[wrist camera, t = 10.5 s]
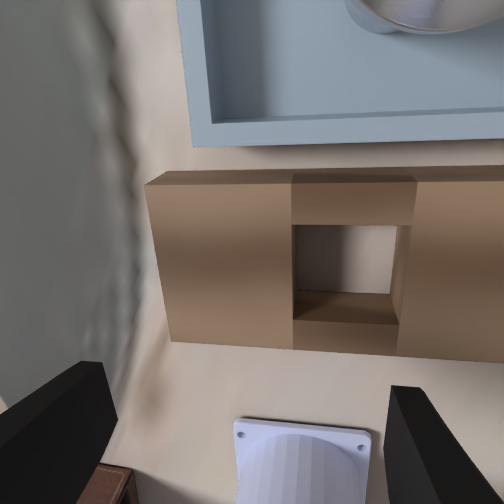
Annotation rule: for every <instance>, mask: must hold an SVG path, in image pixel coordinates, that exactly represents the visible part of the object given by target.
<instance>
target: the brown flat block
mask: <svg viewBox="0 0 504 504" xmlns="http://www.w3.org/2000/svg"><path fill="white" fill-rule="evenodd" d="M144 189H145V195H146V200H147V206H148V212H149V218H150V223H151V229H152V235H153V240H154V246H155V252H156V257H157V263H158V269H159V275H160V280H161V286H162V292H163V297H164V303H165V309H166V314H167V320H168V326H169V332H170V337H171V342H186V343H201V344H217V345H232V346H247V347H262V348H278V349H293V350H308V351H323V352H338V353H354V354H369V355H384V356H399V357H415V358H430V359H445V360H460V361H475V362H491V363H504V165H485V166H430V167H375V168H320V169H265V170H210V171H167V172H165V173H164V174H162V175H160V176H159V177H157V178H155V179H154V180H152V181H150V182H149V183H147V184H145V185H144ZM296 225H397V234H396V243H395V252H394V261H393V270H392V278H391V287H390V294H369V293H343V292H317V291H296Z"/></svg>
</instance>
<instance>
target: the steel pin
mask: <svg viewBox="0 0 504 504" xmlns="http://www.w3.org/2000/svg"><path fill="white" fill-rule="evenodd" d="M344 2H345V5H346V8H347V11H348V13H349V15H350V16H351V18H352V19H353V20H354V22H355V23H356V24H357V25H359V26H360V27H361V28H363V29H365V30H367V31H369V32H372V33H377V34H387V33H393V32H396V31H399V30H401V31H404V32H409V33H416V34H445V33H452V32H458V31H462V30H465V29H469V28H472V27H476V26H479V25H482V24H485V23H488V22H490V21H493V20H496V19H498V18H501V17H503V16H504V0H344Z"/></svg>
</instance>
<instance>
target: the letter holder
mask: <svg viewBox="0 0 504 504" xmlns="http://www.w3.org/2000/svg"><path fill="white" fill-rule="evenodd" d="M76 504H138V499H137V491H136V485H135V480H134V475H133V471H132V469H130V468H122V467H117V466H111V465H106V464H101V463H99V464H98V466H97V468H96V469H95V471H94V473H93V475H92V476H91V478H90V480H89V482H88V484H87V485H86V487H85V489H84V491H83V492H82V494H81V496H80V497H79V499H78V501H77V503H76Z"/></svg>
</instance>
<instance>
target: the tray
mask: <svg viewBox="0 0 504 504" xmlns="http://www.w3.org/2000/svg"><path fill="white" fill-rule="evenodd" d="M176 6H177V15H178V23H179V32H180V41H181V49H182V58H183V66H184V75H185V84H186V92H187V101H188V109H189V118H190V127H191V135H192V144H193V147H225V146H259V145H293V144H326V143H360V142H394V141H428V140H462V139H495V138H504V16H503V17H501V18H498V19H496V20H493V21H490V22H488V23H485V24H482V25H479V26H476V27H472V28H469V29H465V30H462V31H458V32H452V33H445V34H416V33H409V32H404V31H401V30H399V31H396V32H393V33H387V34H377V33H372V32H369V31H367V30H365V29H363V28H361V27H360V26H359V25H357V24H356V23H355V22H354V20H353V19H352V18H351V16H350V15H349V13H348V11H347V8H346V5H345V2H344V0H176Z"/></svg>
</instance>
